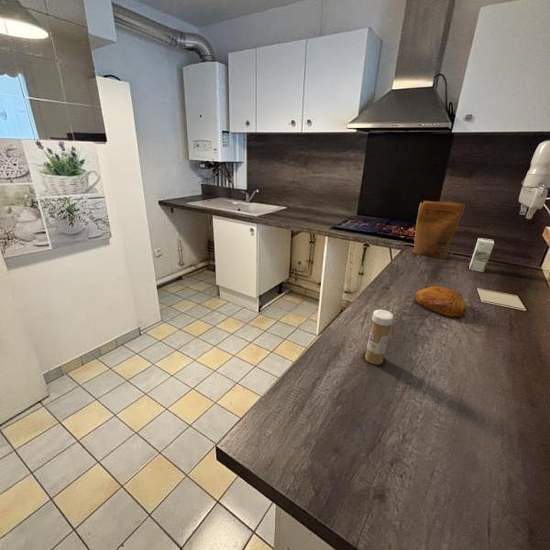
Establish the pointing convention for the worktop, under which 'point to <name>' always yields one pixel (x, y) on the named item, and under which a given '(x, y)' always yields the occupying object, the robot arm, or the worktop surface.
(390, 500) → the worktop surface
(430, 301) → the bread loaf
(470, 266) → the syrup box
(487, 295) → the napkin
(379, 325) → the sprinkles bottle
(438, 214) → the pancake mix bag
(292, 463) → the worktop surface
